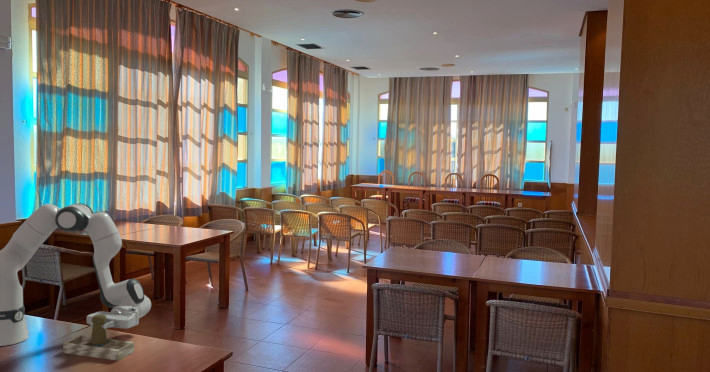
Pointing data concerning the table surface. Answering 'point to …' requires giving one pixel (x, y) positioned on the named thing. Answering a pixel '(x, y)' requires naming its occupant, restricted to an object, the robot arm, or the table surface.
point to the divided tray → (98, 348)
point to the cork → (98, 330)
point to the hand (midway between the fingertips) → (97, 326)
